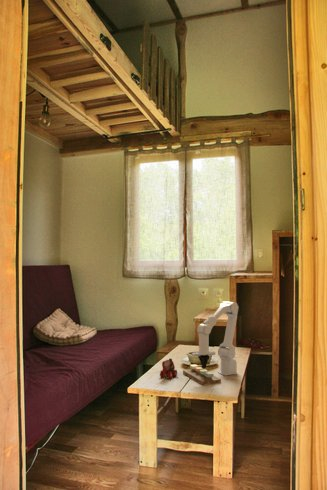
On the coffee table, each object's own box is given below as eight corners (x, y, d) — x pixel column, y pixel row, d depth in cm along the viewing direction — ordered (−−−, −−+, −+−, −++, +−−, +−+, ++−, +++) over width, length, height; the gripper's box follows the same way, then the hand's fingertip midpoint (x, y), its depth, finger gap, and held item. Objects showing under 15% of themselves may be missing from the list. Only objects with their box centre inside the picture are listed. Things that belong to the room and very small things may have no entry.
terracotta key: (200, 372, 241) (200, 366, 242) (203, 374, 238) (203, 368, 238) (194, 373, 240) (194, 367, 240) (197, 375, 237) (197, 369, 237)
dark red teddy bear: (178, 375, 242) (179, 358, 242) (168, 380, 231) (168, 362, 232) (169, 373, 245) (169, 356, 246) (158, 378, 235) (158, 360, 235)
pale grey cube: (210, 378, 230) (210, 372, 231) (213, 380, 227) (213, 373, 227) (204, 379, 229) (204, 372, 229) (207, 380, 225) (207, 374, 226)
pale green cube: (205, 375, 236) (205, 369, 236) (208, 377, 232) (208, 371, 233) (199, 376, 234) (199, 370, 235) (202, 377, 231) (202, 371, 231)
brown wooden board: (200, 371, 250) (200, 368, 250) (221, 382, 227) (221, 379, 227) (183, 373, 245) (183, 370, 245) (202, 385, 222) (202, 381, 222)
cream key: (195, 370, 247) (195, 364, 247) (198, 371, 244) (198, 365, 244) (190, 370, 246) (190, 365, 246) (193, 372, 242) (193, 366, 242)
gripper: (211, 342, 241) (211, 365, 240) (189, 344, 235) (189, 367, 234) (217, 344, 234) (217, 368, 234) (195, 346, 229) (195, 370, 228)
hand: (203, 368), depth 234 cm, fingers closed
